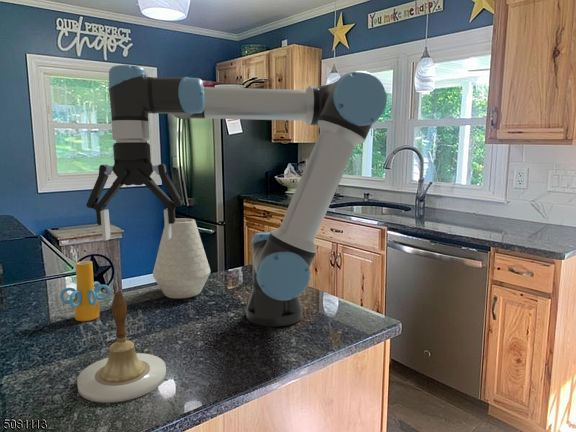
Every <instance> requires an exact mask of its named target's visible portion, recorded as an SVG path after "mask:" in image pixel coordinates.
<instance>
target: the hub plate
mask: <svg viewBox="0 0 576 432" xmlns="http://www.w3.org/2000/svg"><path fill="white" fill-rule="evenodd" d="M136 355H137V357H138V359H139V360H140V361H142V362H143V363H144V365H145V371H144V372H143V373H142V374H141V375H140V376H138V377H136V378H134V379H131V380H128V381H123V382H108V381H105V380H103V379H102V378H101V377H100V371H101V370H102V368H103V367H104V366H105V365H106V363H107V361H108V357H106V358H103V359H100V360H97V361H95V362H93V363H92V364H90V365H88V366H87V367H85V368H84V369H83V370H82V371H81V372H80V373H79V374H78V376H77V380H76V382H77V383H76V384H77V392H78V394H79V395H80V396H81V397H82V398H83V399H85V400H88V401H90V402H95V403H103V404H104V403H106V404H107V403H119V402H125V401H131V400H134V399H137V398H140V397H142V396H144V395H147V394H149V393H151V392H153V391H155V390H156V389H157V388H159V386H161V385H162V384H163V383H164V381H165V379H166V378H167V377H166V376H167V366H166V362H165V361H164V360H163V359H162V358H160V357H159V356H156V355H154V354H151V353H150V354H149V353H143V352H141V353H139V352H136Z"/></svg>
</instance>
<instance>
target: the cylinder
mask: <svg viewBox="0 0 576 432" xmlns="http://www.w3.org/2000/svg"><path fill="white" fill-rule="evenodd" d="M75 275H76V289H75V288H73V287H66V288H64V289H62V291H61V292H60V294H59V299H60V300H61V302H63V303H64V304H68V305H69V304H70V307H72V308H74V311H73V312H74V319H75V320H76V322H88V321H93V320H96V319H98V318H99V317H100V301H104V300H107V299H109V298H110V296H111V294H112V290H111V287H110V286H108V285H107V284H101V283H100V282H99V281H94V267H93V261H92V260H81V261H77V262H75ZM95 285H97V286H96V287H95ZM102 288H104V289H106V291H107V294H106V295H105V296H100V294H101V290H102ZM68 291H69V292H72V293H70V295H69V300H67V299H65V297H64V295H65V293H66V292H68Z"/></svg>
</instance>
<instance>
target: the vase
mask: <svg viewBox="0 0 576 432" xmlns="http://www.w3.org/2000/svg"><path fill="white" fill-rule="evenodd" d="M171 232H172V237H171V238H170V239H166V240H165V225H164V226H163V231H162V234H161V237H160V238H161V239H160V242H159V246H158V250H157V254H156V259H155V264H154V268H153V271H152V277H153V279H154V280H155V282H156V284H157V285H158V287H159V289H160V290H161V292H162V293H163V295H164V296H165V297H167V298H169V299H175V300H176V299H177V300H179V299H180V300H182V299H189V298H193V297H196V296H198V295H200V294H201V292H202V290H203V288H204V286H205V285H206V283H207V280H208V279H209V276H210V275H211V268H210V264H209V262H208V258H207V255H206V251H205V249H204V244H203V242H202V238H201V234H200V232H199V228H198V225H197V222H196V219H194V218H186V217H185V218H175V223H173V224H171Z"/></svg>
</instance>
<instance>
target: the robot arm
mask: <svg viewBox="0 0 576 432" xmlns="http://www.w3.org/2000/svg"><path fill="white" fill-rule="evenodd" d="M108 93H109V105H110V116H111V137H112V138H111V139H112V140H113V141H115V142H114V143H113V144H112V148H113V149H112V151H113V160H114V163H113V165H108V164H100V165H99V167H98V176H97V179H96V181H95V183H94V186H93V188H92V191H91V192H90V195H89V197H88V200H87V202H86V207H87V208H88V209H93V210H95V212H96V223H97V225H98V226H101V235H102V236H101V237H102V238H101V239H102V241H103V242H104V241H105V242H106V241H108V240H110V239H111V238H112V237H111V235H112V234H111V223H110V212H109V209H106V207H107V206H108V205H109V204H110V202H111V201H112V199H113V198H114V197H115V196H116V194H117V193H118V191H119V190H120V189H121V188H122V187H123V186H124V185H125V186H133V185H134V186H143V185H144V186H145V187H147V188H148V189H149V190H150V191H151V192H152V193H153V194H154V195H155V196H156V198H158V200H159V201H160V202H161V203H162V204H163V205H164V206H165V207H166V208H165V209H163V217H164V219H163V220H164V226H165V240H166V239H170V238H171V237H172V232H171V224H173V223H175V219H176V208H178V207H181V206H183V204H184V201H183V199H182V197H181V196H180V194H179V192H178V190H177V188H176V187H175V185H174V182H172V179H171V178H170V175H169V174H168V169H167V165H166V164H165V163H160V164H157V165H153V163H152V159H151V156H152V154H151V144H150V143H149V142H148V141H149V140H150V124H149V123H150V122H149V121H150V120H149V114H152V115H153V114H154V115H155V114H162V115H163V114H164V115H165V114H166V115H167V114H168V115H169V114H171V115H172V116H174V117H175V118H177V119H180V120H191V119H215V120H219V119H221V120H255V121H256V120H258V121H259V120H262V121H263V120H265V121H298V122H299V121H303V122H305V123H306V124H307V125H308V126H318V127H319V131H320V132H319V135H318V136H317V139H316V142H315V143H314V146H313V148H312V150H311V153H310V156H309V158H308V160H307V163H306V165H305V167H304V170H303V173H302V174H301V177H300V178H299V181H298V184H297V186H296V188H295V190H294V193H293V195H292V197H291V199H290V202H289V205H288V207H287V210H286V212H285V215H284V216H283V219H282V220H281V223H280V226H279V227H278V228H276V229H273V230H271V231H266V232H264V231H263V232H257V233H254V234H253V236H252V242H251V246H252V290H251V294H250V296H249V299H248V303H247V306H246V312H245V313H246V319H247V320H248V322H251V323H252V324H255V325H258V326H264V327H276V328H277V327H284V326H285V327H286V326H290V325H294V324H296V323H298V322H300V321H301V320H302V319H303V305H302V303H301V300H300V296H301V295H302V294H304V292H305V290H306V289H307V288H308V286H309V283H310V279H311V270H310V267H311V265H312V263H313V261H314V259H315V257H316V254H317V252H318V251H317V248H316V246H315V240H316V238H317V235H318V233H319V231H320V228H321V226H322V224H323V221H324V219H325V216H326V214H327V212H328V210H329V207H330V205H331V204H332V203H331V202H332V201H333V198H334V196H335V193H336V191H337V189H338V186H339V185H340V182H341V180H342V177H343V175H344V174H345V170H346V168H347V166H348V164H349V161H350V159H351V156H352V154H353V152H354V150H355V148H356V147H357V146H359V145H360V144H363V143H365V141H366V139H367V137H368V135H369V133H370V131H371V127H372V125H373V124H375V123H376V122H377V121H378V120H379V119H380V118H381V117H382V115H384V111H385V110H386V106H387V93H386V90H385V86H384V84H383V83H382V81H381V80H380V79H379V78H378V77H377V76H375V75H374V74H372V73H371V72H368V71H364V70H356V71H350V72H348V73H345V74H344V75H341V76H340V78H339V79H337V80H336V81H334V82H332V83H330V84H323V85H309V86H308V87H307V88H305V89H283V88H281V89H280V88H275V89H274V88H255V87H254V88H249V87H223V86H221V87H220V86H218V87H217V86H215V87H214V86H204V81H203V80H202V79H201V78H199V77H189V76H183V77H182V76H181V77H180V76H179V77H176V76H175V77H169V76H167V77H159V76H158V77H153V76H152V77H151V76H148V75H147V72H146V70H145V68H143V67H142V66H139V65H129V64H119V65H114V66H111V68H109V71H108ZM153 172H155V174H156V175H159V177H160V180H161V181H162V183H163V184H164V187H165V188H166V190H167V193H168V194H169V195H170V197H171V198H170V197H169V195H167V194H166V193H165V192H164V191H163V189H161V188H160V186H159V185H158V184H157V183H156V181H155V179H153V178H152V177H151V175H152V174H153ZM112 173H114V175H115V176H116V178H115V180H114V181H113V182H112V185H111V186H110V187H109V188H108V190H106V192H105V194H104V195H103V196H102V198H101V199H100V197H101V195H102V193H103V190H104V188H105V186H106V184H107V181H108V179H109V176H111V175H112ZM171 199H172V200H171Z"/></svg>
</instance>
